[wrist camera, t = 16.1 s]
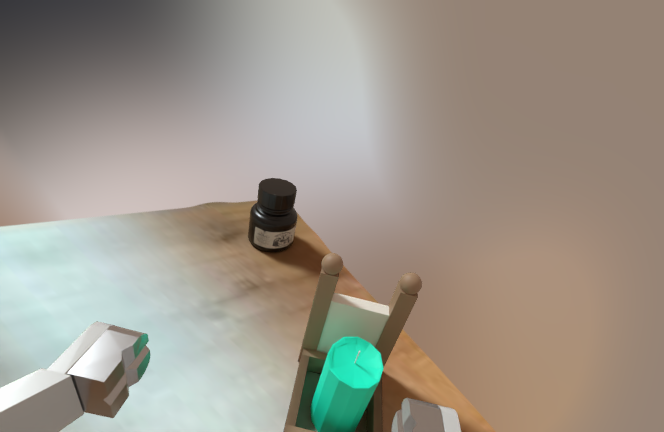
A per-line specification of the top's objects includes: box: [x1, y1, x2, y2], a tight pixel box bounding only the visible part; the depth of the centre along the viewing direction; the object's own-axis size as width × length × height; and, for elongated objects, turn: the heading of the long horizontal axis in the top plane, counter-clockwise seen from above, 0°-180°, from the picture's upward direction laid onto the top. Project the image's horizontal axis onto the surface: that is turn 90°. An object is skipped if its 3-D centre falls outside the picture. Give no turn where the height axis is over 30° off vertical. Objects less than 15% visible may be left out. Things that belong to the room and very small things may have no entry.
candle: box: [310, 337, 383, 432], centre depth 36 cm, size 6×6×12 cm
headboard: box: [298, 253, 422, 367], centre depth 40 cm, size 11×2×18 cm, turn 83°
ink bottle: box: [248, 178, 297, 252], centre depth 62 cm, size 10×9×12 cm
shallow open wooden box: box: [284, 348, 383, 432], centre depth 39 cm, size 10×10×3 cm
